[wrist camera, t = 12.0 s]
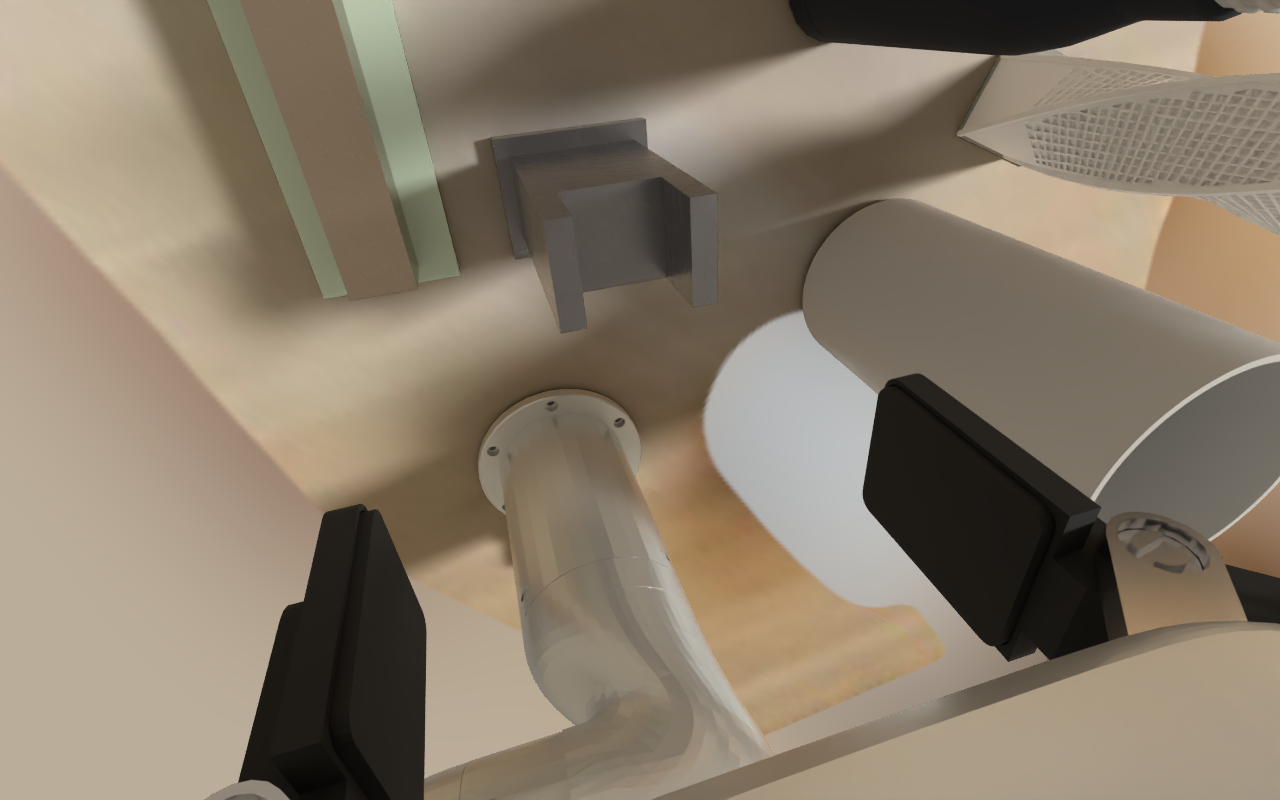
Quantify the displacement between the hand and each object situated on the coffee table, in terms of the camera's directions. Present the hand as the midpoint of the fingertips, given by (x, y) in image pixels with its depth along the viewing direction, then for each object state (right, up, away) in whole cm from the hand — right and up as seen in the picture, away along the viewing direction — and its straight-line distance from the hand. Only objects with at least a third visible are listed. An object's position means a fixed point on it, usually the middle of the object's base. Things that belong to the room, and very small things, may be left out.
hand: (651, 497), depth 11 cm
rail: (-16, +19, +19) cm, 31 cm away
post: (-4, +15, +26) cm, 31 cm away
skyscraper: (+25, +23, +32) cm, 47 cm away
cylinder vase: (+18, +11, +36) cm, 42 cm away
